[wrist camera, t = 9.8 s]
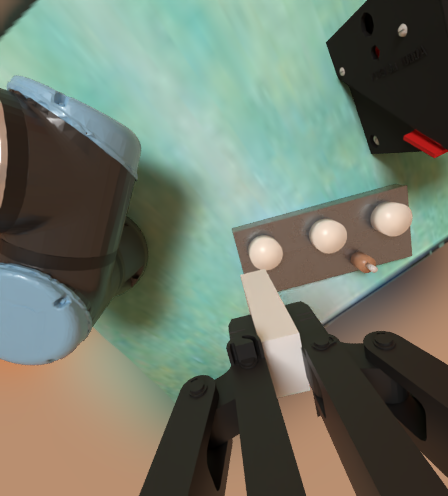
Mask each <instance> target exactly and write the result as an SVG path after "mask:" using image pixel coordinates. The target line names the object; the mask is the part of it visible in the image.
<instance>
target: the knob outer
mask: <svg viewBox="0 0 448 496" xmlns="http://www.w3.org/2000/svg"><path fill="white" fill-rule="evenodd" d="M370 220H371V225H372V227H373V228H374V229H375V230H376V231H378V232H380V233H383V234H385V235H388V236H398V235H401V234H403V233H404V232H405V231H406V230H407V229H408V228H409V227H410V225H411V222H412V212H411V210H410V208H409V207H408V206H406V205H404V204H400V203H396V202H391V201H387V202H383V203H381V204H379V205H378V206H377V207H376V208H375V209H374V210H373V212H372V214H371V219H370Z"/></svg>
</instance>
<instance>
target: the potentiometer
mask: <svg viewBox="0 0 448 496" xmlns="http://www.w3.org/2000/svg"><path fill="white" fill-rule="evenodd" d="M350 261H351V264H352V265H354V266H355V267H356V268H358V269H359V270H361V271H362V272H364V273H369V272H371V271H372V272H374V273H375V272H377V270H378V268H377V267H375V266H376V262H375V260H374V259H373V258H372V257H370V256H368V255H366V254H365V253H363V252H360V251H359V252H355V253H354V254H353V255H352V256H351V259H350Z"/></svg>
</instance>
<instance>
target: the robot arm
mask: <svg viewBox="0 0 448 496" xmlns="http://www.w3.org/2000/svg"><path fill="white" fill-rule="evenodd" d="M140 154H141V144H140V142H139V140H138V138H137V136H136V135H135V134H134V133H133V132H132V131H131V130H130V129H129V128H127V127H126V126H124V125H123V124H121V123H119V122H118V121H116V120H114V119H113V118H111V117H109V116H107V115H105V114H104V113H102V112H100V111H98V110H96V109H94V108H92V107H90V106H88V105H86V104H84V103H82V102H80V101H78V100H76V99H74V98H72V97H67V96H65V95H64V94H63V93H60V92H58V91H56V90H54V89H52V88H51V87H49V86H46V85H44V84H42V83H39V82H37V81H34V80H32V79H29V78H26V77H23V76H18V75H16V76H13V77H12V79H11V81H10V82H8V83H7V90H4V89H1V88H0V359H2V360H5V361H8V362H12V363H16V364H22V365H43V364H48V363H52V362H54V361H56V360H59V359H62V358H64V357H66V356H67V355H69V354H70V353H71V352H73V351H74V350H75V349H76V347H77V346H78V345H79V344H80V343H81V342H82V341H84V340H85V339H86V338H87V337H88V335H89V333H90V331H91V329H92V327H93V326H94V324H95V323H96V321H97V320H98V318H99V317H100V316H101V314H102V313H103V311H104V310H105V308H106V307H107V306H108V304H109V303H110V301H111V300H112V298H113V297H116V296H118V295H121V294H123V293H125V292H126V291H128V290H129V289H131V288H132V287H133V286H134V285H135V284H136V283H137V282H138V280H139V279H140V277H141V276H142V274H143V272H144V270H145V268H146V265H147V260H148V249H147V244H146V241H145V238H144V236H143V234H142V232H141V230H140V229H139V228H138V226H137V225H136V224H135V223H134V222H133V221H132V220H131V219H129V218H128V217H127V216H126V215H127V211H128V207H129V203H130V199H131V194H132V190H133V186H134V182H135V181H137V179H138V175H137V169H138V164H139V159H140ZM240 276H241V280H242V284H243V288H244V292H245V296H246V300H247V304H248V308H249V312H250V315H247V316H243V317H239V318H235V319H232V320H231V322H230V324H229V326H228V327H229V335H230V341H229V342H228V343H227V348H226V349H227V352H228V356H229V359H230V363H231V367H230V369H229V370H228V371H227V372H226V373H225V374H224V375H222V376H221V377H219V378H217V379H215V380H213V378H211V377H210V376H206V375H200V376H196V377H194V378H192V379H190V380H188V381H187V382H186V383H185V384H184V385H183V387H182V389H181V390H180V393H179V396H178V398H177V401H176V403H175V406H174V408H173V411H172V413H171V416H170V418H169V421H168V424H167V426H166V429H165V431H164V434H163V436H162V439H161V441H160V444H159V446H158V449H157V451H156V454H155V457H154V459H153V462H152V464H151V467H150V469H149V472H148V475H147V477H146V479H145V482H144V485H143V487H142V490H141V492H140V495H139V496H224V495H225V489H226V482H227V476H228V469H229V461H230V456H231V449H232V438H233V437H235V436H236V435H238V434H240V440H241V449H242V457H243V466H244V473H245V482H246V491H247V496H306V494H305V490H304V487H303V483H302V480H301V477H300V473H299V470H298V467H297V463H296V460H295V456H294V453H293V450H292V446H291V443H290V440H289V436H288V433H287V430H286V426H285V423H284V420H283V416H282V413H281V409H280V406H279V403H278V399H277V398H281V397H285V396H289V395H293V394H298V393H301V392H306V391H310V387H309V384H310V386H311V388H312V390H313V395H314V399H315V405H316V410H317V415H318V416H320V414H321V417H322V419H323V421H324V423H325V425H326V428H327V430H328V432H329V434H330V437H331V439H332V441H333V444H334V446H335V448H336V450H337V453H338V455H339V457H340V460H341V462H342V464H343V466H344V469H345V471H346V473H347V475H348V477H349V480H350V482H351V484H352V486H353V489H354V491H355V493H356V496H448V489H447V488H446V486H445V485H444V483H443V482H442V480H441V479H440V478H439V476H438V475H437V474H436V472H435V471H434V470H433V468H432V467H431V465H430V464H429V463H428V461H427V460H426V459H425V457H424V456H423V454H424V455H425V456H426V457H427V458H428V459H429V460H430V461H431V462H432V463H433V464H434V465H435V466H436V467H437V468H438V469H439V470H440V471H441V472H442V473H443V474H444V475H445V476H447V477H448V365H447V364H445V363H444V362H442V361H440V360H439V359H437V358H435V357H434V356H432V355H430V354H429V353H427V352H425V351H424V350H422V349H420V348H419V347H417V346H415V345H414V344H412V343H410V342H409V341H407V340H405V339H404V338H402V337H400V336H399V335H396V334H394V333H391V332H386V331H376V332H372V333H369V334H368V335H366V336H365V338H364V340H363V344H362V343H361V344H360V343H359V344H350V343H343V342H340V341H339V339H337V338H336V337H335V336H333V335H330V334H328V333H327V331H326V330H325V328H324V327H323V326H322V324H321V323H320V321H319V320H318V318H317V317H316V316H315V314H314V313H313V311H312V310H311V308H310V307H309V306H308V305H307V304H305V303H303V302H301V301H300V302H296V303H292V304H288V305H284V304H283V302H282V300H281V298H280V296H279V294H278V292H277V290H276V289H275V287H274V285H273V283H272V281H271V279H270V277H269V275H268V274H267V272H266V270H265V269H262V270H258V271H254V272H250V273H246V274H242V275H240ZM420 451H421V452H422V453H423V454H422V453H421V452H420Z"/></svg>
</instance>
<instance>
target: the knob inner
mask: <svg viewBox="0 0 448 496" xmlns="http://www.w3.org/2000/svg"><path fill="white" fill-rule="evenodd" d="M248 254H249V257H250V259H251V262H252V263H253V265H254V266H255V267H256V268H258V269H260V270H262V269H265V270H271V269H273V268H275V267H277V266H278V265H279V263H280V262H281V260H282V257H283V251H282V248H281V246H280V245H279V243H278V242H277V241H276V240H275V239H274V238H273V237H271V236H268V235H261V236H258V237H256V238H254V239H253V240H252V241H251V243H250V244H249V247H248Z"/></svg>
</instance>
